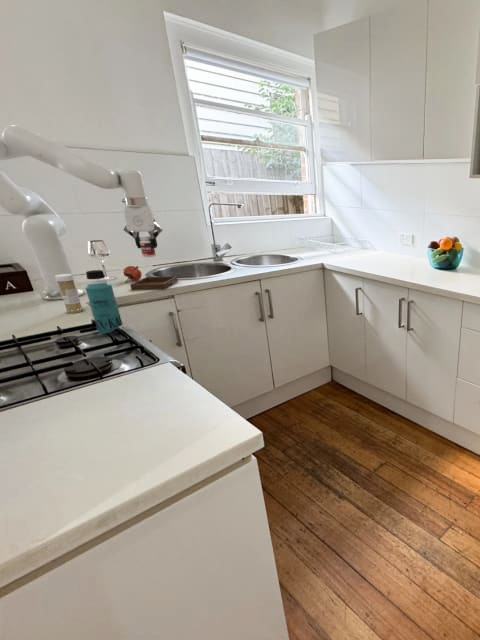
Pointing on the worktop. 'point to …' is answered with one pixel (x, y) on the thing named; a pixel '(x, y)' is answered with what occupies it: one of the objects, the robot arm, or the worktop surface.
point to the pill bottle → (146, 247)
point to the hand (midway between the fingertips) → (147, 247)
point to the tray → (154, 283)
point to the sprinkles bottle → (69, 292)
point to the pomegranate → (132, 273)
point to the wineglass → (99, 254)
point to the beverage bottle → (102, 303)
